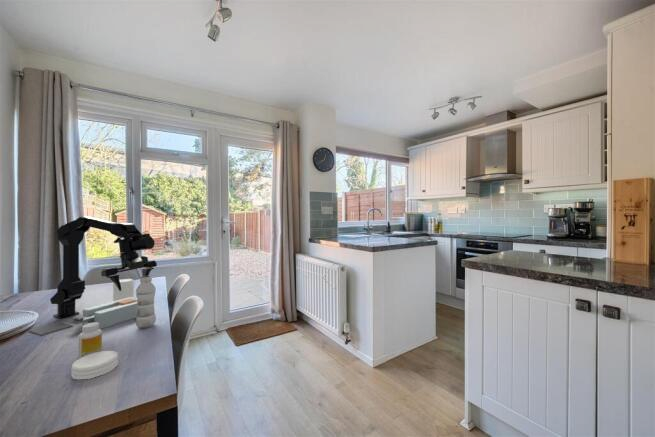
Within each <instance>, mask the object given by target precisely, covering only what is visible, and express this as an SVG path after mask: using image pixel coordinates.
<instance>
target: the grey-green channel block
mask: <svg viewBox="0 0 655 437" xmlns="http://www.w3.org/2000/svg"><path fill="white" fill-rule="evenodd" d="M126 299H133V300H136V302H133V303H130V304H126V305H119V306H117V302H118V301H122V300H126ZM137 310H138V304H137V297H134V298H132V297H129V298H125V299H121V300H117V301H113V300H112V301H110V302H107V303H106V302H105V303H102V304H98V305H97V304H96V305H94V306H90V307H85V308H83V309H82V317H86V316H89V315H93V314H94V320H91V321H87V322H84V323H81V324H82V325H85V324H88V323H93V322H98V323H99V328H98V329H101V330H102V329H104V328H107V327H110V326H114V325H116V324H120V323H123V322H126V321H128V320H129V321H130V320H133V319H136V317H137Z"/></svg>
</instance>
